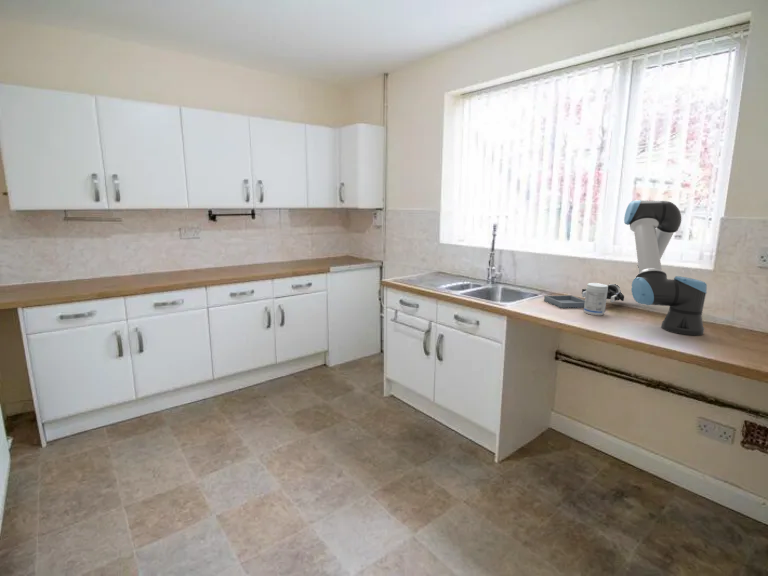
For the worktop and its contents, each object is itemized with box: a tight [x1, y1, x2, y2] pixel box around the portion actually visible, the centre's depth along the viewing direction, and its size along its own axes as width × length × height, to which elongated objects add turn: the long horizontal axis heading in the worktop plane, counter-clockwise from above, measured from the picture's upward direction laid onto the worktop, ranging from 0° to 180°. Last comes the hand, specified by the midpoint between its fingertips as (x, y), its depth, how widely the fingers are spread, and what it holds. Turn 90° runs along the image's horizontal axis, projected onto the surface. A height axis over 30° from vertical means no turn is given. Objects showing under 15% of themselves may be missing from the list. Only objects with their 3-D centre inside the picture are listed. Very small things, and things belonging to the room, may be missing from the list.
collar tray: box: [543, 294, 585, 309], centre depth 223 cm, size 17×17×3 cm
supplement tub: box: [583, 282, 609, 316], centre depth 205 cm, size 10×10×15 cm
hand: (596, 296), depth 207 cm, fingers open, 13 cm apart
